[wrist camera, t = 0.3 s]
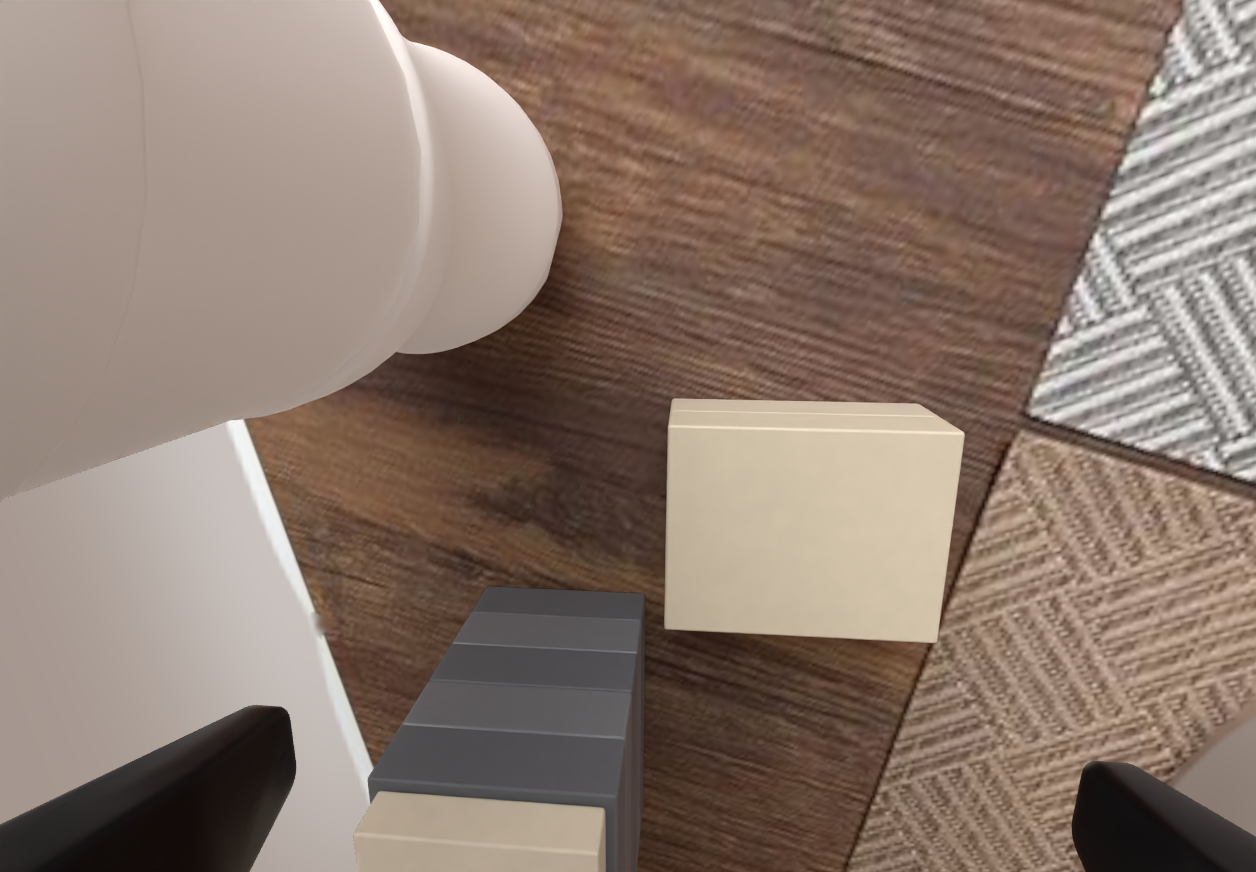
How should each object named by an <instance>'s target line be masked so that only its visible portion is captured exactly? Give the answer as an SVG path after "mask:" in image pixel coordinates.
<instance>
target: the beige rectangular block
mask: <svg viewBox="0 0 1256 872" xmlns="http://www.w3.org/2000/svg"><path fill="white" fill-rule="evenodd" d="M964 436H965V434H964V432H962V431H961V430H959V429H958V428H956V427H954V426H953V425H951V424H950V423H948V422H946V421H945V420H943V419H942V418H940V417H938V416H937V415H935V414H934V413H932V412H931V411H929V410H927V409H926V408H924V407H923V406H921V405H919V404H907V403H860V402H813V401H766V400H719V399H672V402H671V409H670V416H669V423H668V449H667V502H666V555H665V608H664V627H665V629H667V630H686V631H705V632H725V633H745V634H764V635H784V636H803V637H823V638H843V639H862V640H882V641H901V642H921V643H936V642H937V638H938V630H939V623H940V615H941V608H942V600H943V593H944V585H945V578H946V571H947V563H948V556H949V548H950V541H951V533H952V526H953V518H954V511H955V503H956V496H957V489H958V481H959V474H960V466H961V459H962V451H963V444H964Z"/></svg>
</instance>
